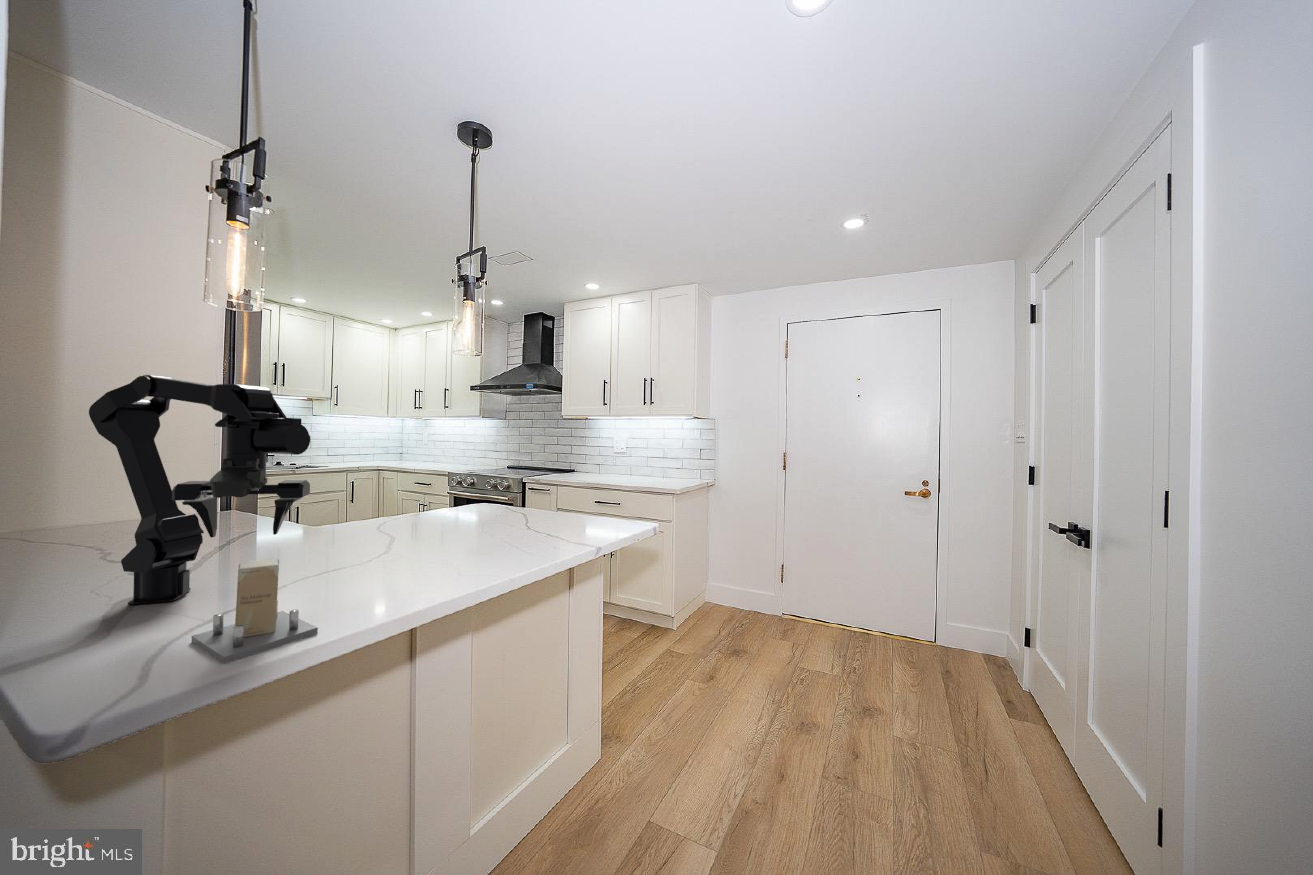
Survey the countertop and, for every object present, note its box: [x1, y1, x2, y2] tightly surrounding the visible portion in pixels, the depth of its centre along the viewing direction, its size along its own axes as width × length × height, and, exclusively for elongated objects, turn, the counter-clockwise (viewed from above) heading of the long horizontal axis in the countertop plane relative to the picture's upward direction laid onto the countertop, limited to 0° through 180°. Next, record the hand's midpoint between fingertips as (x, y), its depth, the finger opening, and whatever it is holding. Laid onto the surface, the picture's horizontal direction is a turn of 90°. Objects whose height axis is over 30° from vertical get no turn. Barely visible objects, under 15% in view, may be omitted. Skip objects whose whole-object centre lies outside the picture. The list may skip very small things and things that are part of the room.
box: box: [234, 558, 280, 637], centre depth 76 cm, size 5×4×11 cm
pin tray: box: [191, 599, 319, 665], centre depth 75 cm, size 12×12×4 cm
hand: (244, 535), depth 88 cm, fingers open, 9 cm apart
